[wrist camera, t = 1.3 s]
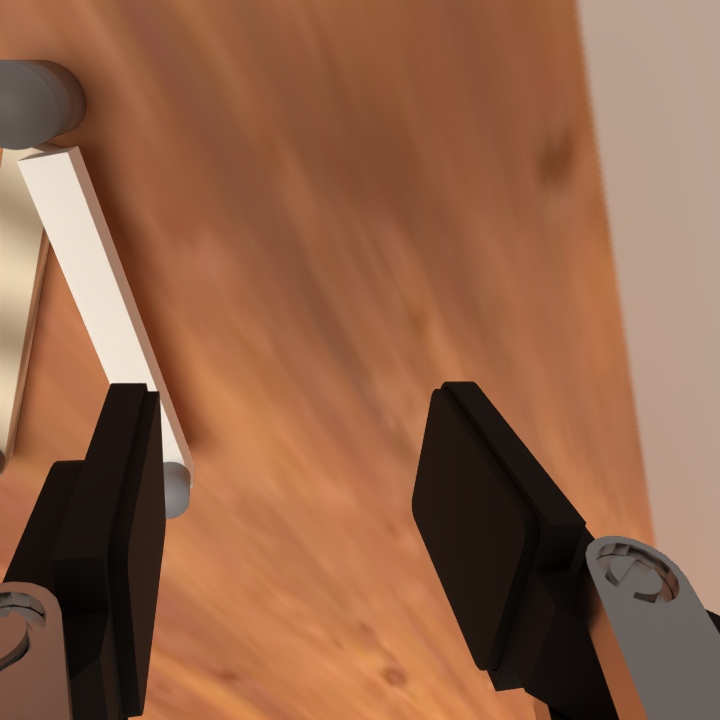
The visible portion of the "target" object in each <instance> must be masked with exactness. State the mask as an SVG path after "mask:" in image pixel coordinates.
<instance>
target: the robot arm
mask: <svg viewBox="0 0 720 720" xmlns="http://www.w3.org/2000/svg"><path fill="white" fill-rule="evenodd" d="M412 512H413V517H414V520H415V522H416V524H417V527H418V529H419V531H420V534H421V536H422V539H423V541H424V543H425V546H426V548H427V550H428V553H429V555H430V558H431V560H432V562H433V565H434V567H435V569H436V572H437V574H438V577H439V579H440V581H441V584H442V586H443V588H444V591H445V593H446V596H447V598H448V600H449V603H450V605H451V607H452V610H453V612H454V615H455V617H456V619H457V622H458V624H459V626H460V629H461V631H462V634H463V636H464V638H465V641H466V643H467V646H468V648H469V650H470V653H471V655H472V657H473V660H474V662H475V664H476V666H477V667H478V668H479V670H482V671H484V670H487V672H488V674H489V677H490V679H491V681H492V683H493V686H494V688H495V690H496V691H503V690H510V689H517V688H524V690H525V692H527V693H528V694H530V695H532V696H533V705H534V711H535V715H536V720H720V616H719V615H717V614H714V613H713V612H710V611H708V610H706V609H705V608H704V606H703V605H702V603H701V601H700V600H699V598H698V596H697V595H696V593H695V591H694V589H693V588H692V586H691V584H690V583H689V581H688V579H687V577H686V576H685V575H684V573H683V572H682V571H681V570H680V568H679V567H678V566H677V565H676V564H675V563H674V562H673V561H671V560H670V559H669V558H668V557H667V556H666V555H664V554H663V553H661V552H659V551H658V550H656V549H655V548H653V547H651V546H649V545H647V544H644V543H642V542H640V541H637V540H635V539H630V538H626V537H621V536H604V537H601V538H597V539H594V537H593V536H592V535H591V534H590V532H589V531H588V530H587V528H586V527H585V525H586V522H585V521H584V519H583V518H582V517H581V515H580V514H579V513H578V512H577V510H576V509H575V508H574V507H573V505H572V504H571V503H570V502H569V500H568V499H567V498H566V496H565V495H564V494H563V493H562V491H561V490H560V489H559V488H558V486H557V485H556V484H555V483H554V481H553V480H552V479H551V478H550V476H549V475H548V474H547V472H546V471H545V470H544V469H543V467H542V466H541V465H540V464H539V462H538V461H537V460H536V459H535V457H534V456H533V455H532V453H531V452H530V451H529V450H528V448H527V447H526V446H525V445H524V443H523V442H522V441H521V440H520V438H519V437H518V436H517V435H516V433H515V432H514V431H513V429H512V428H511V427H510V426H509V424H508V423H507V422H506V421H505V419H504V418H503V417H502V416H501V414H500V413H499V412H498V411H497V409H496V408H495V407H494V405H493V404H492V403H491V402H490V400H489V399H488V398H487V397H486V395H485V394H484V393H483V392H482V390H481V389H480V388H479V386H478V385H477V384H476V383H475V382H444V383H443V385H442V386H441V389H435V390H434V391H433V393H432V397H431V402H430V407H429V412H428V417H427V423H426V428H425V433H424V439H423V444H422V449H421V455H420V460H419V465H418V470H417V476H416V481H415V486H414V492H413V497H412ZM165 527H166V508H165V487H164V466H163V445H162V424H161V403H160V392H159V391H148V388H147V384H146V383H111V385H110V388H109V391H108V393H107V396H106V399H105V402H104V405H103V408H102V411H101V414H100V417H99V419H98V422H97V425H96V428H95V431H94V434H93V437H92V440H91V443H90V446H89V448H88V451H87V454H86V457H85V460H73V461H56V462H55V463H54V464H53V465H52V467H51V469H50V471H49V473H48V476H47V478H46V480H45V483H44V485H43V488H42V490H41V492H40V495H39V497H38V499H37V502H36V504H35V506H34V509H33V511H32V514H31V516H30V518H29V521H28V523H27V525H26V528H25V530H24V533H23V535H22V537H21V540H20V542H19V544H18V547H17V549H16V551H15V554H14V556H13V559H12V561H11V563H10V566H9V568H8V570H7V573H6V575H5V578H4V580H3V582H2V583H0V720H128V717H136V716H142V714H143V710H144V703H145V695H146V687H147V678H148V670H149V662H150V654H151V645H152V637H153V629H154V621H155V612H156V604H157V596H158V588H159V579H160V571H161V563H162V555H163V546H164V538H165Z"/></svg>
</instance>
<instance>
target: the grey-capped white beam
mask: <svg viewBox="0 0 720 720" xmlns="http://www.w3.org/2000/svg"><path fill="white" fill-rule="evenodd" d="M85 108H86V100H85V95H84V92H83V89H82V87H81V85H80V83H79V82H78V80H77V79H76V78H75V77H74V75H73V74H72V73H71V72H69V71H68V70H67V69H66V68H64V67H62V66H61V65H59V64H56V63H54V62H50V61H43V60H0V147H1V148H3V155H2V162H1V169H0V477H1V476H2V474H3V472H4V470H5V469H6V467H7V465H8V463H9V461H10V459H11V457H12V455H13V449H14V444H15V438H16V432H17V427H18V421H19V415H20V409H21V404H22V398H23V392H24V387H25V381H26V375H27V369H28V364H29V358H30V352H31V347H32V341H33V335H34V329H35V324H36V318H37V312H38V307H39V301H40V295H41V290H42V284H43V278H44V272H45V267H46V261H47V255H48V250H49V244H50V240H49V237H48V235H47V232H46V230H45V228H44V225H43V223H42V221H41V218H40V216H39V213H38V211H37V209H36V206H35V204H34V202H33V199H32V197H31V194H30V192H29V190H28V187H27V185H26V182H25V180H24V178H23V175H22V173H21V171H20V168H19V166H18V163H17V161H18V160H21V159H23V158H25V157H27V156H29V155H31V154H37V153H42V152H48V151H53V150H59V149H63V148H60V147H57V146H54V145H51V144H48V143H45V141H47V140H49V139H52V138H54V137H56V136H58V135H61V134H63V133H65V132H67V131H70V130H72V129H73V128H75V127H76V126H77V125H78V124H79V123H80V122H81V120H82V119H83V116H84V113H85Z"/></svg>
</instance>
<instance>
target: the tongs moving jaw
mask: <svg viewBox="0 0 720 720" xmlns="http://www.w3.org/2000/svg"><path fill="white" fill-rule="evenodd" d="M17 163H18V166H19V168H20V171H21V173H22V175H23V178H24V180H25V182H26V185H27V187H28V190H29V192H30V194H31V197H32V199H33V202H34V204H35V206H36V209H37V211H38V213H39V216H40V218H41V221H42V223H43V225H44V228H45V230H46V232H47V235H48V237H49V240H50V242H51V244H52V247H53V249H54V252H55V254H56V256H57V259H58V261H59V263H60V266H61V268H62V271H63V273H64V275H65V278H66V280H67V283H68V285H69V287H70V290H71V292H72V294H73V297H74V299H75V302H76V304H77V306H78V309H79V311H80V314H81V316H82V318H83V321H84V323H85V325H86V328H87V330H88V333H89V335H90V337H91V340H92V342H93V345H94V347H95V349H96V352H97V354H98V356H99V359H100V361H101V364H102V366H103V368H104V371H105V373H106V375H107V378H108V380H109V383H110V385H111V383H146V384H147V388H148V391H159V392H160V403H161V424H162V445H163V466H164V487H165V508H166V519H171V518H175V517H178V516H180V515H181V514H183V513H184V512H185V511H186V509H187V508H188V505H189V496H190V488H193V487H194V472H195V464H194V462H193V459H192V456H191V454H190V451H189V448H188V445H187V443H186V440H185V437H184V434H183V432H182V429H181V426H180V423H179V421H178V418H177V415H176V412H175V410H174V407H173V404H172V401H171V399H170V396H169V393H168V391H167V388H166V385H165V382H164V380H163V377H162V374H161V371H160V369H159V366H158V363H157V360H156V358H155V355H154V352H153V349H152V347H151V344H150V341H149V339H148V336H147V333H146V330H145V328H144V325H143V322H142V319H141V317H140V314H139V311H138V308H137V306H136V303H135V300H134V297H133V295H132V292H131V289H130V287H129V284H128V281H127V278H126V276H125V273H124V270H123V267H122V265H121V262H120V259H119V256H118V254H117V251H116V248H115V245H114V243H113V240H112V237H111V235H110V232H109V229H108V226H107V224H106V221H105V218H104V215H103V213H102V210H101V207H100V204H99V202H98V199H97V196H96V193H95V191H94V188H93V185H92V182H91V180H90V177H89V174H88V172H87V169H86V166H85V163H84V161H83V158H82V155H81V152H80V150H79V147H78V146H75V147H70V148H64V149H59V150H53V151H48V152H42V153H37V154H31V155H29V156H27V157H25V158H23V159H21V160H18V161H17Z"/></svg>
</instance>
